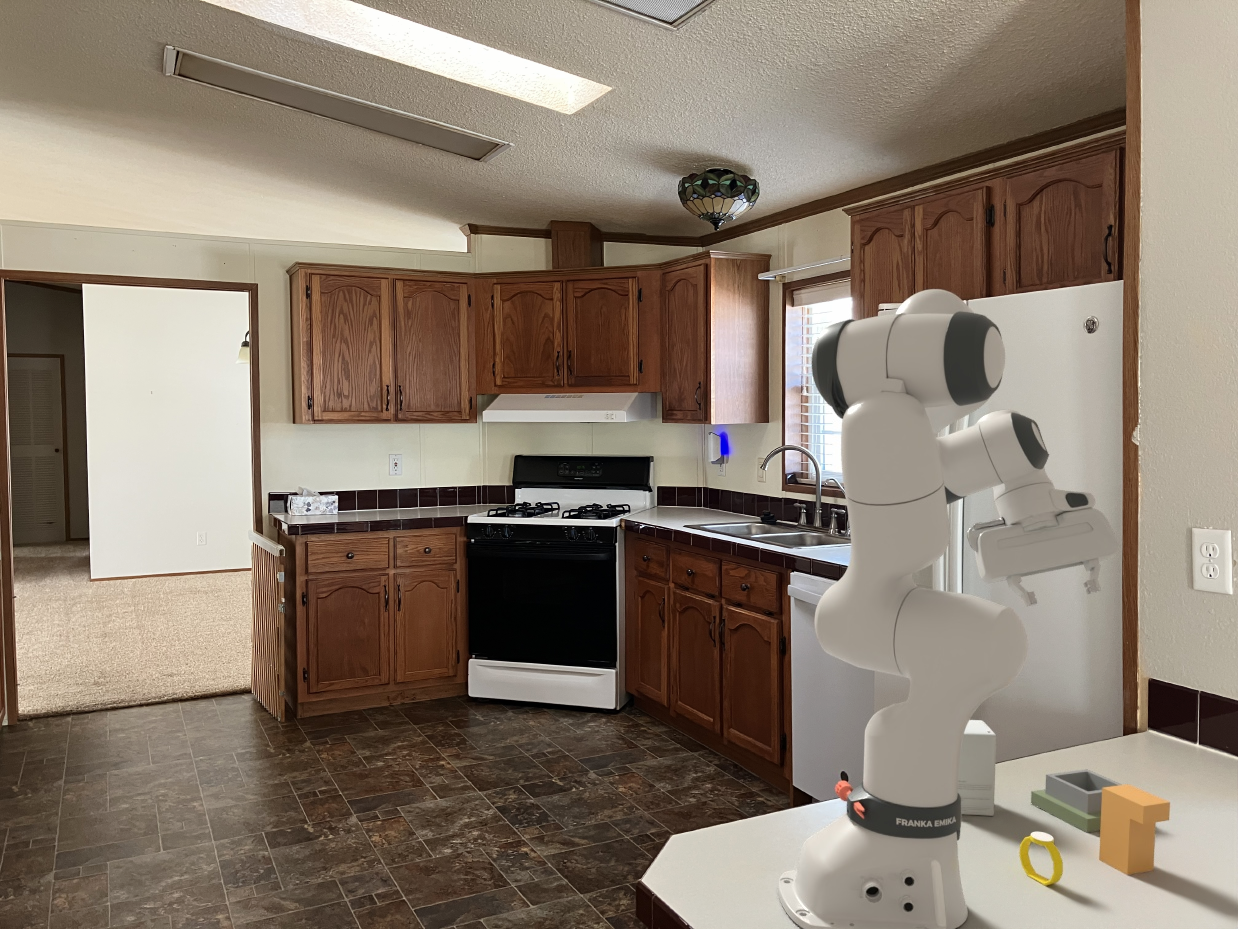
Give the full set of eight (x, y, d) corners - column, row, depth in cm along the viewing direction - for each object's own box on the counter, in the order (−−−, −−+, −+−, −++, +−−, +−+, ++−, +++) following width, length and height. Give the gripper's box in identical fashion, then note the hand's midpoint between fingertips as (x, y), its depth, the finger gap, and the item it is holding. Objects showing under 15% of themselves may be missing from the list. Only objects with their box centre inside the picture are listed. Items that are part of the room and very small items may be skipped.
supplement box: (981, 798, 152) (984, 719, 152) (994, 817, 145) (997, 734, 144) (933, 795, 153) (936, 717, 153) (944, 814, 146) (947, 732, 145)
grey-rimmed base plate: (1086, 832, 140) (1088, 798, 140) (1030, 803, 150) (1032, 772, 150) (1143, 823, 144) (1145, 790, 144) (1085, 796, 154) (1086, 765, 154)
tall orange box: (1099, 859, 131) (1102, 787, 131) (1124, 855, 133) (1128, 784, 132) (1140, 882, 125) (1143, 806, 125) (1166, 877, 127) (1170, 802, 126)
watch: (1065, 890, 123) (1070, 846, 122) (1049, 894, 122) (1053, 849, 121) (1029, 866, 129) (1033, 824, 128) (1013, 870, 127) (1017, 827, 127)
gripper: (968, 519, 144) (998, 607, 139) (1103, 491, 144) (1139, 579, 138) (958, 532, 150) (987, 617, 145) (1088, 506, 150) (1122, 591, 144)
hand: (1062, 599), depth 142 cm, fingers open, 8 cm apart
